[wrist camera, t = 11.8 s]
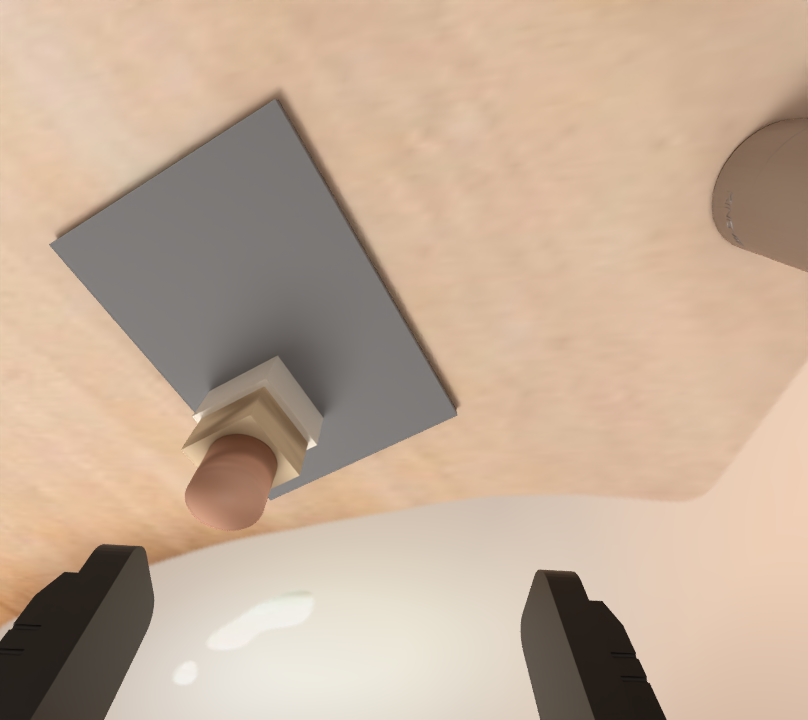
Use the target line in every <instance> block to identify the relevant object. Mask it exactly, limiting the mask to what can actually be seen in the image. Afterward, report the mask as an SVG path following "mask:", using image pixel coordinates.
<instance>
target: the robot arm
mask: <svg viewBox="0 0 808 720" xmlns="http://www.w3.org/2000/svg"><path fill="white" fill-rule="evenodd" d="M712 211H713V219H714V222H715V224H716V227H717V229H718V231H719V232H720V233H721V235H722V236H723V238H725V239H726V240H727V241H728V242H730V243H731V244H732V245H735V246H737V247H740V248H742V249H745V250H748V251H751V252H753V253H756V254H759V255H762V256H764V257H767V258H770V259H772V260H775V261H778V262H781V263H783V264H786V265H789V266H792V267H795V268H797V269H800V270H803V271H806V272H808V118H800V119H787V120H783V121H780V122H776V123H773V124H771V125H769V126H767V127H765V128H763V129H761V130H759V131H757V132H756V133H755V134H753V135H752V136H751V137H749V138H748V139H746V140H745V141H744V142H743V143H742V144H741V145H740V146H739V147H738V148H737V149H736V150H735V151H734V152H733V154H732V155H731V157H730V158H729V159H728V161H727V162H726V164H725V165H724V167H723V169H722V171H721V173H720V175H719V177H718V179H717V182H716V185H715V189H714V192H713V200H712ZM153 608H154V594H153V588H152V583H151V577H150V571H149V566H148V561H147V555H146V551H145V549H144V548H143V547H142V546H127V545H109V544H102V545H100V546H98V547H97V548H96V549H95V550H94V551H93V553H92V554H91V555H90V557H89V558H88V560H87V561H86V563H85V564H84V565H83V567H82V568H81V570H80V571H79V573H73V572H64V573H63V574H61V575H60V576H59V577H58V578H56V579H55V580H54V581H53V582H51V583H50V584H49V585H48V586H46V587H45V588H44V589H42V590H41V591H40V592H39V593H37V594H36V595H35V596H34V597H33V599H32V600H31V601H30V603H29V604H28V605H27V607H26V608H25V609H24V611H23V612H22V613H21V615H20V616H19V617H18V619H17V620H16V621H15V623H14V626H13V628H12V629H11V630H8V632H7V633H6V634H5V636H4V637H3V638H2V640H1V641H0V720H104V719H105V717H106V715H107V712H108V710H109V708H110V706H111V704H112V702H113V700H114V698H115V696H116V694H117V692H118V690H119V688H120V686H121V684H122V681H123V679H124V677H125V675H126V673H127V671H128V669H129V667H130V665H131V663H132V661H133V659H134V657H135V655H136V653H137V650H138V648H139V646H140V644H141V642H142V640H143V638H144V636H145V634H146V632H147V629H148V627H149V624H150V621H151V618H152V613H153ZM521 641H522V648H523V652H524V656H525V660H526V664H527V668H528V672H529V676H530V680H531V684H532V688H533V692H534V696H535V700H536V704H537V708H538V712H539V716H540V720H666V717H665V715H664V713H663V711H662V709H661V707H660V705H659V702H658V700H657V699H656V696H655V694H654V692H653V689H652V688H651V685H650V683H648V682H647V679H646V678H647V676H646V674H645V672H644V670H643V668H642V665H641V663H640V661H639V659H637V658H636V652H635V650H634V648H633V646H632V644H631V642H630V639H629V637H628V635H627V633H626V631H625V629H624V626H623V625H622V624H621V622H620V621H619V620H618V619H617V618H616V617H615V615H614V614H613V613H612V612H611V611H610V610H609V608H608V607H607V606H606V605H605V604H604V603H603V601H589V599H588V597H587V594H586V592H585V590H584V587H583V585H582V582H581V580H580V578H579V576H578V575H577V574H576V573H575V572H572V571H554V570H538V571H537V572H536V574H535V576H534V579H533V582H532V586H531V589H530V592H529V595H528V598H527V602H526V605H525V608H524V611H523V614H522V619H521Z"/></svg>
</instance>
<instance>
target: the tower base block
mask: <svg viewBox="0 0 808 720" xmlns="http://www.w3.org/2000/svg"><path fill="white" fill-rule="evenodd" d="M264 386H265V388H266V389H267V390H268V392H269V393H270V394H271V395H272V397H273V398H274V399H275V401H276V402H277V403H278V404H279V406H280V407H281V408H282V410H283V411H284V412H285V414H286V415H287V416H288V417H289V419H290V420H291V421H292V423H293V424H294V425H295V427H296V428H297V429H298V430H299V432H300V433H301V434H302V436H303V437H304V438H305V440H306V441H307V442H308V446H307V450H308V449H310V448H312V447H314V446H316V445H317V443H318V439H319V435H320V430H321V426H322V422H323V417H322V415H321V414H320V413H319V411H318V410H317V409H316V407H315V406H314V404H313V403H312V402H311V400H310V399H309V398H308V396H307V395H306V393H305V392H304V391H303V389H302V388H301V387H300V385H299V384H298V383H297V381H296V380H295V378H294V377H293V376H292V374H291V373H290V372H289V370H288V369H287V367H286V366H285V365H284V363H283V362H282V361H281V359H280V358H279V357H278V355H277V356H275V357H274V358H272V359H270V360H268V361H266V362H264V363H262V364H260V365H258V366H256V367H254V368H253V369H251V370H249V371H247V372H245V373H243V374H241V375H239V376H237V377H235V378H233V379H232V380H230V381H228V382H226V383H224V384H222V385H220V386H218V387H216V388H214V389H212V390H211V391H209V393H208V394H207V395H206V397H205V398H204V400H203V401H202V403H201V404H200V406H199V407H198V409H197V410H196V412H195V413H194V414H193V416H192V417H193V418H194V419H195V421H196V422H197V423H199V421H200V420H201V419H202V418H204V417H206V416H207V415H209V414H211V413H213V412H215V411H217V410H219V409H221V408H223V407H225V406H227V405H229V404H231V403H233V402H235V401H237V400H239V399H241V398H243V397H244V396H246V395H248V394H250V393H252V392H254V391H256V390H258V389H260V388H262V387H264Z"/></svg>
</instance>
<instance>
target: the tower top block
mask: <svg viewBox="0 0 808 720" xmlns="http://www.w3.org/2000/svg"><path fill="white" fill-rule="evenodd" d="M231 434H245V435H249V436H253V437H255V438H257V439H259V440H261V441H263V442H264V443H265V444H267V445H268V446H269V447H270V448H271V450H272V451H273V452H274V454H275V456H276V459H277V471H276V474H275V478H274V481H273V484H272V487H271V489H272V488H274V487H276V486H278V485H281V484H283V483H285V482H287V481H289V480H291V479H293V478H296V477H298V476H300V473H301V469H302V465H303V461H304V457H305V454H306V450H307V446H308V442H307V441H306V440H305V438H304V437H303V436H302V434H301V433H300V432H299V430H298V429H297V428H296V427H295V425H294V424H293V423H292V421H291V420H290V419H289V417H288V416H287V415H286V414H285V412H284V411H283V410H282V408H281V407H280V406H279V404H278V403H277V402H276V401H275V399H274V398H273V397H272V395H271V394H270V393H269V392H268V390H267V389H266V388H265V386H264V387H262V388H260V389H258V390H256V391H254V392H252V393H250V394H248V395H246V396H244V397H243V398H241V399H239V400H237V401H235V402H233V403H231V404H229V405H227V406H225V407H223V408H221V409H219V410H217V411H215V412H213V413H211V414H209V415H207V416H206V417H204V418H202V419H201V420H200V421H199V423H198V424H197V426H196V427H195V429H194V430H193V432H192V434H191V435H190V437H189V438H188V440H187V441H186V443H185V444H184V446H183V447H182V449H181V451H182V452H183V453H184V454H185V455H186V456H187V457H188V458H189V459H190V460H191V461H192V463H193V464H194V465H195V466H196V467H197V468H198V467H199V465H200V464H201V462H202V460H203V458H204V456H205V455H206V453H207V451H208V449H209V448H210V446H211V445H212V444H213V443H214V442H215V441H216V440H217V439H219V438H221V437H223V436H226V435H231Z"/></svg>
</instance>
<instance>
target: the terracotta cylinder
mask: <svg viewBox="0 0 808 720" xmlns="http://www.w3.org/2000/svg"><path fill="white" fill-rule="evenodd" d="M276 471H277V459H276V456H275V454H274V452H273V451H272V450H271V448H270V447H269V446H268V445H267V444H265V443H264V442H263V441H261V440H259V439H257V438H255V437H253V436H249V435H245V434H231V435H226V436H223V437H221V438H219V439H217V440H216V441H215V442H214V443H213V444H212V445H211V446H210V448H209V449H208V451H207V453H206V455H205V456H204V458H203V460H202V462H201V464H200V465H199V467H198V469H197V471H196V472H195V474H194V476H193V478H192V480H191V481H190V483H189V485H188V487H187V489H186V493H185V501H186V505H187V507H188V509H189V511H190V512H191V513H192V515H193V516H194V517H195V518H196V519H198V520H199V521H200V522H202V523H203V524H205V525H207V526H210V527H212V528H215V529H219V530H227V531H234V530H241V529H244V528H247V527H249V526H251V525H253V524H254V523H256V522H257V521H258V520H259V518H260V517H261V515H262V513H263V511H264V508H265V505H266V502H267V499H268V496H269V493H270V490H271V487H272V484H273V481H274V478H275V474H276Z"/></svg>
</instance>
